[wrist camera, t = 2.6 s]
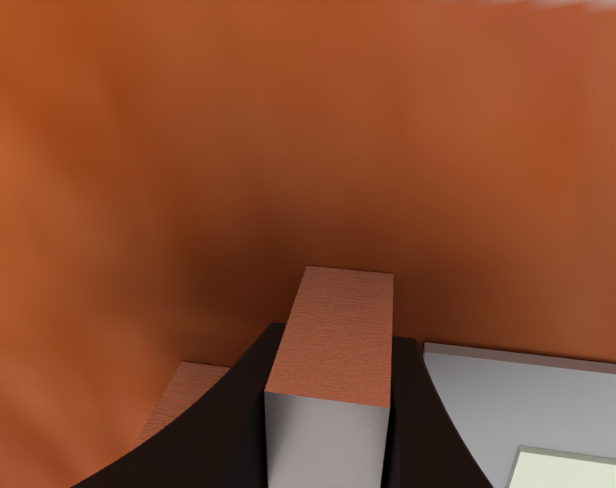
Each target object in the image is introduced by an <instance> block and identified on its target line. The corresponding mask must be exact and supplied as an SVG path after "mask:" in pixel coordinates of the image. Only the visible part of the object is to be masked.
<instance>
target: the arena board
mask: <svg viewBox="0 0 616 488" xmlns="http://www.w3.org/2000/svg"><path fill="white" fill-rule="evenodd" d="M423 359H424V362H425V364H426V367H427V370H428V372H429V374H430V377H431V379H432V382H433V384H434V386H435V388H436V390H437V392H438V394H439V396H440V398H441V400H442V402H443V405H444V407H445V409H446V411H447V413H448V414H449V416H450V418H451V420H452V422H453V424H454V426H455V427H456V429H457V431H458V432H459V434H460V436H461V438H462V439H463V441H464V443H465V444H466V446H467V448H468V449H469V451H470V453H471V454H472V456H473V457H474V459H475V461H476V462H477V464H478V465H479V467H480V468H481V470H482V471H483V472H484V474H485V475H486V477H487V478H488V480H489V481H490V483H491V484H492V485H493V487H494V488H616V364H611V363H602V362H593V361H585V360H576V359H567V358H558V357H550V356H541V355H532V354H524V353H515V352H506V351H497V350H489V349H480V348H471V347H463V346H454V345H445V344H437V343H428V342H425V344H424V351H423Z"/></svg>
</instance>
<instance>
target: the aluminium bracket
mask: <svg viewBox="0 0 616 488" xmlns="http://www.w3.org/2000/svg"><path fill="white" fill-rule="evenodd" d="M393 283H394V274H389V273H379V272H368V271H358V270H348V269H337V268H327V267H316V266H306V269H305V272H304V274H303V277H302V280H301V283H300V286H299V289H298V292H297V295H296V298H295V301H294V304H293V307H292V310H291V313H290V316H289V319H288V322H287V325H286V328H285V331H284V334H283V337H282V340H281V343H280V346H279V349H278V352H277V355H276V358H275V361H274V364H273V367H272V370H271V373H270V375H269V378H268V381H267V384H266V387H265V390H264V398H265V421H266V444H267V467H268V488H380V483H381V475H382V467H383V459H384V451H385V443H386V435H387V427H388V419H389V411H390V387H391V352H392V317H393ZM229 369H230V368H229V367H221V366H213V365H206V364H198V363H190V362H181V364H180V365H179V367H178V369H177V370H176V372H175V374H174V376H173V377H172V379H171V381H170V383H169V384H168V386H167V388H166V389H165V391H164V393H163V395H162V396H161V398H160V400H159V402H158V403H157V405H156V407H155V408H154V410H153V412H152V414H151V415H150V417H149V419H148V420H147V422H146V424H145V426H144V427H143V429H142V431H141V433H140V434H139V436H138V438H137V439H136V441H135V443H134V445H133V446H132V448H131V450H130V451H132V450H133V449H135V448H136V447H138V446H139V445H141V444H142V443H143V442H145V441H146V440H148V439H149V438H150V437H152V436H153V435H155V434H156V433H157V432H159V431H160V430H161V429H163V428H164V427H165V426H167V425H168V424H169V423H170V422H172V421H173V420H174V419H176V418H177V417H178V416H179V415H180V414H182V413H183V412H184V411H185V410H186V409H188V408H189V407H190V406H191V405H192V404H193V403H195V402H196V401H197V400H198V399H199V398H200V397H201V396H202V395H203V394H204V393H205V392H207V391H208V390H209V389H210V388H211V387H212V386H213V385H214V384H215V383H216V382H217V381H218V380H219V379H220V378H221V377H222V376H223V375H224V374H225V373H226V372H227V371H228V370H229Z"/></svg>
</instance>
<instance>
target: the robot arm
mask: <svg viewBox="0 0 616 488" xmlns="http://www.w3.org/2000/svg"><path fill="white" fill-rule="evenodd" d="M286 325H287V324H282V323H274V322H272V323H271V324H270V325H268V326H267V328H266V329H265V330H264V331H263V333H262V334H261V335H260V336H259V337H258V339H257V340H256V341H255V342H254V343H253V344H252V345H251V347H250V348H249V349H248V350H247V351H246V352H245V353H244V354H243V356H242V357H241V358H240V359H239V360H238V361H237V362H236V363H235V364H234V365H233V366H232V367H231V368H230V369H229V370H228V371H227V372H226V373H225V374H224V375H223V376H222V377H221V378H220V379H219V380H218V381H217V382H216V383H215V384H214V385H213V386H212V387H211V388H210V389H209V390H208V391H207V392H205V393H204V394H203V395H202V396H201V397H200V398H199V399H198V400H197V401H196V402H195V403H193V404H192V405H191V406H190V407H189V408H188V409H186V410H185V411H184V412H183V413H182V414H180V415H179V416H178V417H177V418H176V419H174V420H173V421H172V422H170V423H169V424H168V425H167V426H165V427H164V428H163V429H161V430H160V431H159V432H157V433H156V434H155V435H153V436H152V437H150V438H149V439H148V440H146V441H145V442H143V443H142V444H141V445H139V446H138V447H136V448H135V449H133V450H132V451H130V452H129V453H128V454H126V455H125V456H123V457H121V458H120V459H118V460H117V461H115V462H113V463H112V464H110V465H108V466H107V467H105V468H103V469H102V470H100V471H98V472H97V473H95V474H93V475H92V476H90V477H88V478H87V479H85V480H83V481H81V482H80V483H78V484H76V485H74V486H72V487H71V488H268V467H267V444H266V421H265V398H264V390H265V387H266V384H267V381H268V378H269V375H270V373H271V370H272V367H273V364H274V361H275V358H276V355H277V352H278V349H279V346H280V343H281V340H282V337H283V334H284V331H285V328H286ZM381 488H494V487H493V485H492V484H491V483H490V481H489V480H488V478H487V477H486V475H485V474H484V472H483V471H482V470H481V468H480V467H479V465H478V464H477V462H476V461H475V459H474V457H473V456H472V454H471V453H470V451H469V449H468V448H467V446H466V444H465V443H464V441H463V439H462V438H461V436H460V434H459V432H458V431H457V429H456V427H455V426H454V424H453V422H452V420H451V418H450V416H449V414H448V413H447V411H446V409H445V407H444V405H443V402H442V400H441V398H440V396H439V394H438V392H437V390H436V388H435V386H434V384H433V382H432V379H431V377H430V374H429V372H428V370H427V367H426V364H425V362H424V359H423V356H422V353H421V350H420V346H419V343H418V342H417V341H416V340H415V339H414V338H405V337H396V336H392V352H391V387H390V411H389V419H388V427H387V435H386V443H385V451H384V459H383V467H382V475H381Z"/></svg>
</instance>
